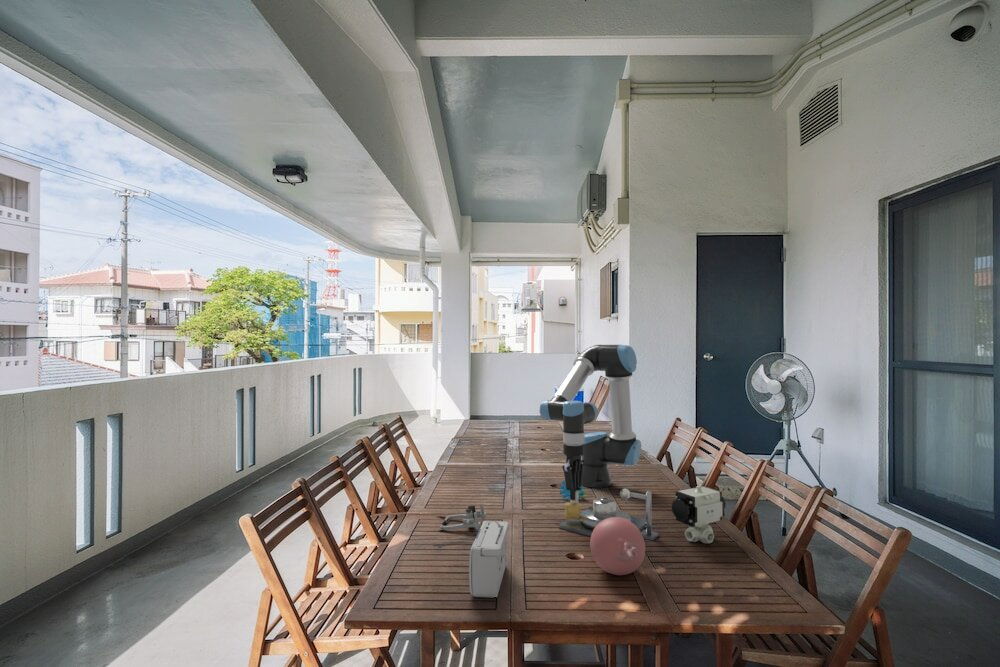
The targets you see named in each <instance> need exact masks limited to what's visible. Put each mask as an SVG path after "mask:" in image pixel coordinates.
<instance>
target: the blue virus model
mask: <svg viewBox="0 0 1000 667" xmlns="http://www.w3.org/2000/svg"><path fill="white" fill-rule="evenodd" d="M563 486H564V487H563ZM583 487H584V486H583V485H582V486H581V487H579V488H581V490H578V499H580V498H582V499H583V498H584V495H585V494H586V491H587V490H586V489H584V490H582V489H583ZM559 489H560V490H559V494H560V495H561V496H562V498H563V499H566V501H568V502H570V491H569V490H567V489H566V483H565V480H563V481H561V485H559ZM562 490H563V491H562Z"/></svg>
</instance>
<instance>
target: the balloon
mask: <svg viewBox="0 0 1000 667" xmlns="http://www.w3.org/2000/svg"><path fill="white" fill-rule="evenodd" d="M641 532H642V531H640V530H639V529H638V528H637V527H636V526H635V525H634V524H633V523H632V522H630V521H629V520H627V519H624V518H620V517H610V518H607V519H604V520H603V521H601V522H600V523H599V524H598V525H597V526H596V527H595V528H594V530H593V532H592V535H591V536H590V540H589V547H590V552H591V555H592V558H593V560H594V561H595V563H596V564H597V565H598V566H599V568H600V569H602V570H603V571H605V572H607V573H609V574H610V575H615V576H625V575H629V574H632V573H633V572H635V571H636V570H637V569H638V568H640V566H641V564H642V563H643V561H644V559H645V554H646V543H645V542H646V541H645V538H643V536H642V534H641Z"/></svg>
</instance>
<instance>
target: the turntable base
mask: <svg viewBox="0 0 1000 667" xmlns="http://www.w3.org/2000/svg"><path fill="white" fill-rule="evenodd" d="M592 508H593V506H589V507H587V508H585V509H584V510H587V509H592ZM581 512H582V511H580V513H581ZM628 515H629V516H630V517H631V522H632V523H633V524H634V525H635V526H636V527H637V528H638V529H639V530H640V532H642V531H643V530H644V529H646V518H641V517H637V516H634V515H630V514H628ZM558 529H561V530H565V531H568V532H572V533H575V534H580V535H583V536H588V537H591V535H592V532H593V530H594V529H592V528H589V527H586V526H584V525H583V524H581V522H580V520H572V519H565V520H564V521H563V522H561V523H559V524H558Z"/></svg>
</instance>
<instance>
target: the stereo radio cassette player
mask: <svg viewBox="0 0 1000 667" xmlns="http://www.w3.org/2000/svg"><path fill="white" fill-rule="evenodd" d="M482 521H483V522H482V523H481V526H480V528H479V530H478V533H477V534H476V536H475V539H474V541H473V542H472V545H471V547H470V550H469V563H468V564H469V566H468V568H469V569H468V575H469V577H468V579H469V580H468V582H469V593H470V595H472V596H473V597H474V598H494V597H496V598H498V595H499V591H500V589H501V585H502V581H503V577H504V574H505V570H506V566H507V535H508V531H509V528H510V523H509V522H508V521H504V520H503V521H499V520H496V519H494V520H482Z"/></svg>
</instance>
